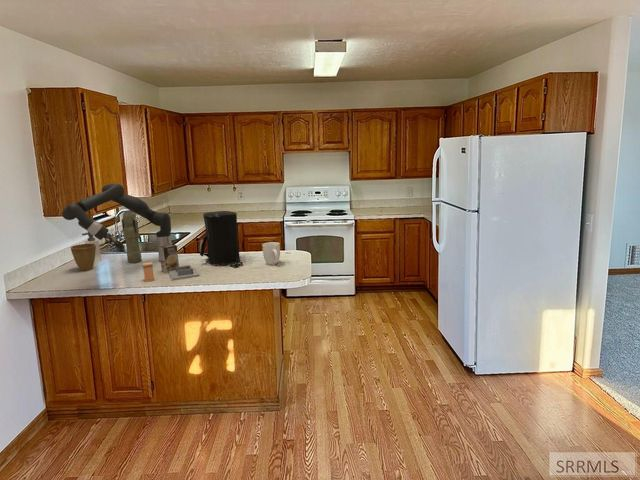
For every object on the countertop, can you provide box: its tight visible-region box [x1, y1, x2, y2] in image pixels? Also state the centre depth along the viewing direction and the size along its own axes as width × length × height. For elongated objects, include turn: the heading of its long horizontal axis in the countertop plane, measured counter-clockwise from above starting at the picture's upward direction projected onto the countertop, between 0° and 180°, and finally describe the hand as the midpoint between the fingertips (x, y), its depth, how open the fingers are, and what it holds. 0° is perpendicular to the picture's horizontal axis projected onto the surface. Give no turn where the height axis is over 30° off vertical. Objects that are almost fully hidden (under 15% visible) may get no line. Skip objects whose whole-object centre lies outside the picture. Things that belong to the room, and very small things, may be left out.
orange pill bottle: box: [142, 261, 155, 282], centre depth 279 cm, size 5×5×10 cm
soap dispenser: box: [81, 231, 102, 263], centre depth 328 cm, size 6×9×22 cm
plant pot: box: [70, 243, 96, 272], centre depth 308 cm, size 15×15×16 cm
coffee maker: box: [199, 210, 244, 268], centre depth 308 cm, size 23×32×34 cm
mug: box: [262, 241, 281, 266], centre depth 300 cm, size 15×11×13 cm
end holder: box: [168, 264, 200, 281], centre depth 287 cm, size 18×16×4 cm
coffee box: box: [159, 244, 180, 274], centre depth 296 cm, size 9×6×16 cm
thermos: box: [121, 210, 142, 264], centre depth 320 cm, size 9×12×35 cm
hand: (122, 247), depth 270 cm, fingers open, 8 cm apart
